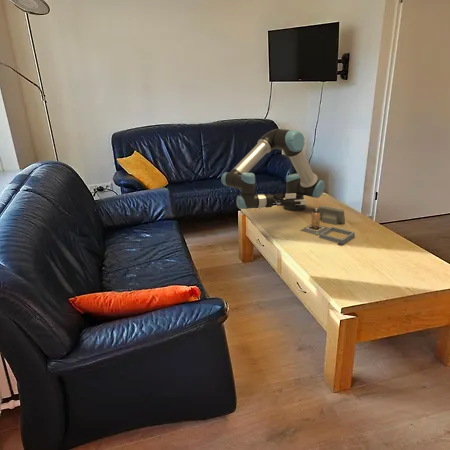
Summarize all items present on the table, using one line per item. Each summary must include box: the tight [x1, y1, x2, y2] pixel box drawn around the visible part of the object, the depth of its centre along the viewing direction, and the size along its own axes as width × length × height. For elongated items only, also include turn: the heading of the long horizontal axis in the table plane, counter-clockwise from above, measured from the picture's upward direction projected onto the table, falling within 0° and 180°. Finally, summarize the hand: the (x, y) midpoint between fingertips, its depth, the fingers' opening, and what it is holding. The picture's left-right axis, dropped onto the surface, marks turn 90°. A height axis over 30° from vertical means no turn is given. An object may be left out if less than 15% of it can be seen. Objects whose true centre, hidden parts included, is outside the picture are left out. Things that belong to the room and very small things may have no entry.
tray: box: [318, 226, 356, 246], centre depth 220 cm, size 14×14×3 cm
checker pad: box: [299, 224, 330, 236], centre depth 231 cm, size 14×12×2 cm
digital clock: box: [318, 204, 346, 226], centre depth 240 cm, size 16×9×11 cm, turn 39°
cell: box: [310, 207, 321, 230], centre depth 229 cm, size 4×4×13 cm
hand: (300, 198), depth 223 cm, fingers open, 13 cm apart
